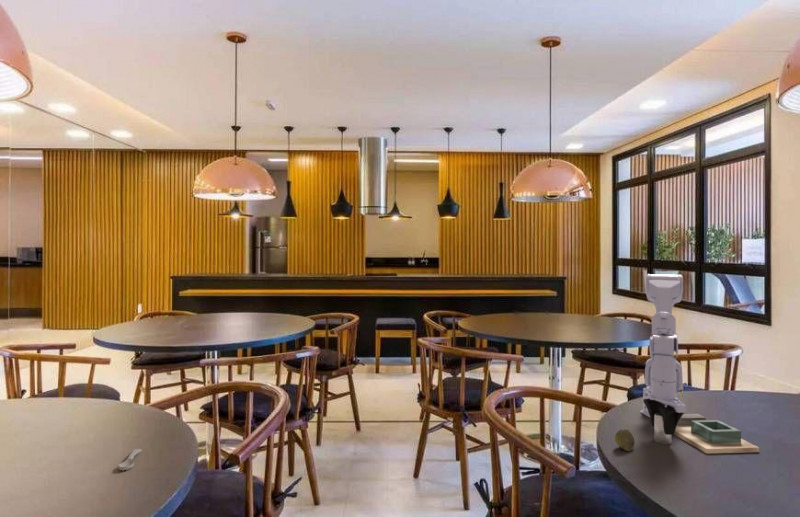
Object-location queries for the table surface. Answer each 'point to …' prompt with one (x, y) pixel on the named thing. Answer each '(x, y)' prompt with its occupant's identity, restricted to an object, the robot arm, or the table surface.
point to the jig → (711, 435)
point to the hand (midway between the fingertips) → (662, 430)
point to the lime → (625, 439)
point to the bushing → (660, 430)
